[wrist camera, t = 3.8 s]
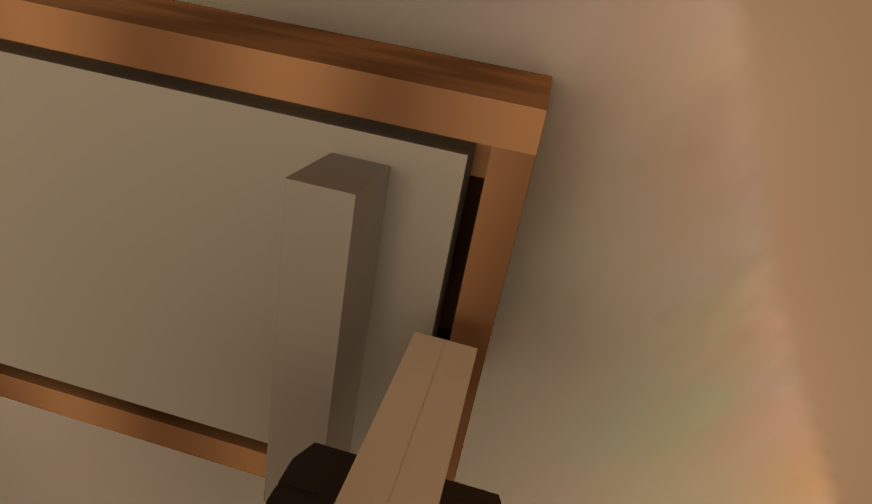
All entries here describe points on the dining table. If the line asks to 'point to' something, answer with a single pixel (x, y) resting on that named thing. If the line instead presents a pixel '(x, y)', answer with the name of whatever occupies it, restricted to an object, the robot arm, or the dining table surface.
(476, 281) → the walnut box
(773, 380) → the dining table surface
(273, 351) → the slate lid
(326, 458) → the robot arm
